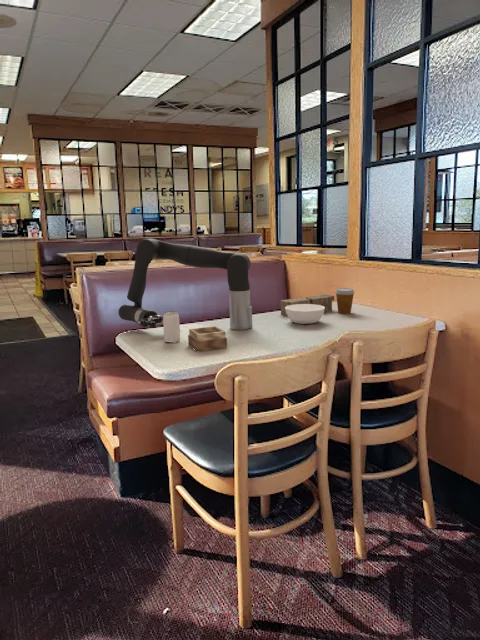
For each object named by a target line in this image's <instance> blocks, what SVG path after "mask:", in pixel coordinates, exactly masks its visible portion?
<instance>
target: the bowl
mask: <svg viewBox="0 0 480 640" xmlns="http://www.w3.org/2000/svg"><path fill="white" fill-rule="evenodd" d="M324 309H325V307H324V306H321V305H315V304H295V305H289V306H286V307H285V310H286V314H287V315H288V316H287V318H288V319H289V320H290V322H292V323H294V324H297V325H298V324H299V325H310V324H311V325H312V324H314V323H317V322H319V321H320V320H321V319H322V317H323V315H324V313H325V312H324Z"/></svg>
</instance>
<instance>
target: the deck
mask: <svg viewBox="0 0 480 640" xmlns="http://www.w3.org/2000/svg"><path fill="white" fill-rule="evenodd" d="M187 337H188V338H187V339H188V340H187V342H188V346H189V345H190V346H191V347H192V348H191V347H190V346H189V347H190V348H191V349H193V348H194V349H195V350H196V351H195V350H194V349H193V350H194V351H195V352H197V351H201V352H204V351H203V350H208V351H215V349H216V350H220V349H221V350H223V349H227V348H228V340H227V339H228V338H227V337H226V338H222V339H214V340H206V341H197V340H195V339H194V338H192V337H191V336H190V335H187Z"/></svg>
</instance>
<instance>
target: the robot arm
mask: <svg viewBox="0 0 480 640" xmlns="http://www.w3.org/2000/svg"><path fill="white" fill-rule="evenodd" d="M134 259H135V260H134V266H133V272H132V276H131V281H130V284H129V288H128V291H127V295H126V298H127V300H128V301H130V302H132V303H134V304H132V305H131V304H123V305H121V306H120V307H119V308H118V316H119V318H120V319H121V320H125V321H129V322H130V321H131V322H134V323H136V324H138V325H139V326H141V327H143V328H146V327H147V328H148V329H149V328H156V326H157V325H163V315H160V314H158V313H157V312H156V311H155V310H151V309H148V308H143V298H144V294H145V291H146V288H147V287H146V286H147V276H148V275H147V273H148V268H149V265H150V263H151V261H152V260H153V259H160V260H161V259H162V260H170V261H173V262H175V263H178V264H180V265H185V266H187V267H188V266H189V267H194V268H200V269H201V268H204V269H205V268H206V269H213V268H214V269H217V268H218V269H223V270H227V271H226V273H227V275H226V277H227V285H228V290H229V291H228V296H229V325H230V329H231V330H235V331H236V330H237V331H240V330H241V331H243V330H248V329H252V328H253V306H251V290H250V289H251V287H250V286H251V284H250V282H249V281H250V280H249V269H250V268H251V264H252V263H251V259H250V258H249V256H248V255H247V254H245V253H242V252H225V251H224V252H222V251H218V250H215V249H211V248H207V247H202V246H197V245H191V244H182V243H181V244H180V243H171V242H166V241H162V240H158V239H155V238H152V237H151V238H143V239H141V240H139V241H138V242H137V244H136V251H135V258H134Z"/></svg>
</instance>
